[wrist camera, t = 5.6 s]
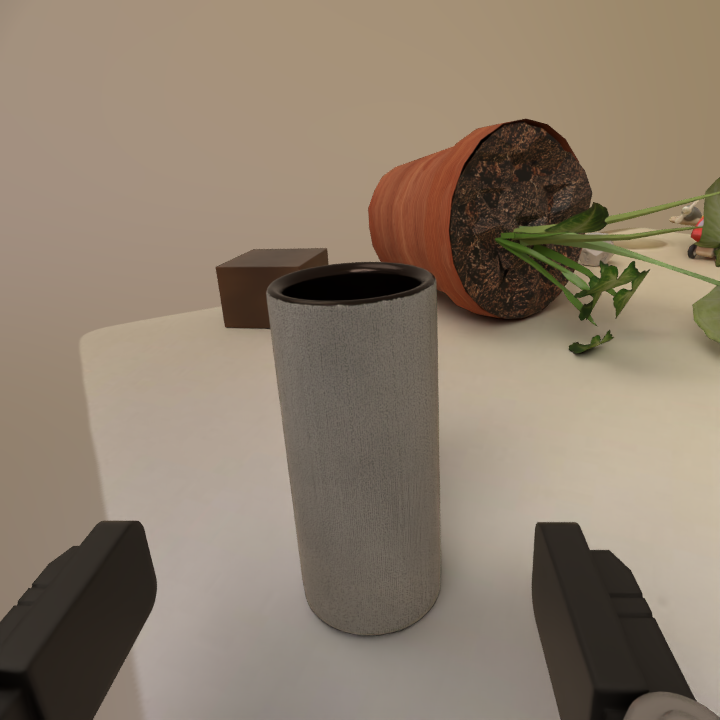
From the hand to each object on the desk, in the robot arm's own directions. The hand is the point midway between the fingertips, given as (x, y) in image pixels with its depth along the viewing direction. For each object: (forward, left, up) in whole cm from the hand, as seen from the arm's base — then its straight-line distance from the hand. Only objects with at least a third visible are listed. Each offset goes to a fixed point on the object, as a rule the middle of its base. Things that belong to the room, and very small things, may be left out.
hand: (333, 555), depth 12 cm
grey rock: (+11, +54, -6) cm, 55 cm away
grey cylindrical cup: (-1, +6, -6) cm, 8 cm away
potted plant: (+7, +32, -6) cm, 33 cm away
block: (-16, +35, -6) cm, 39 cm away
